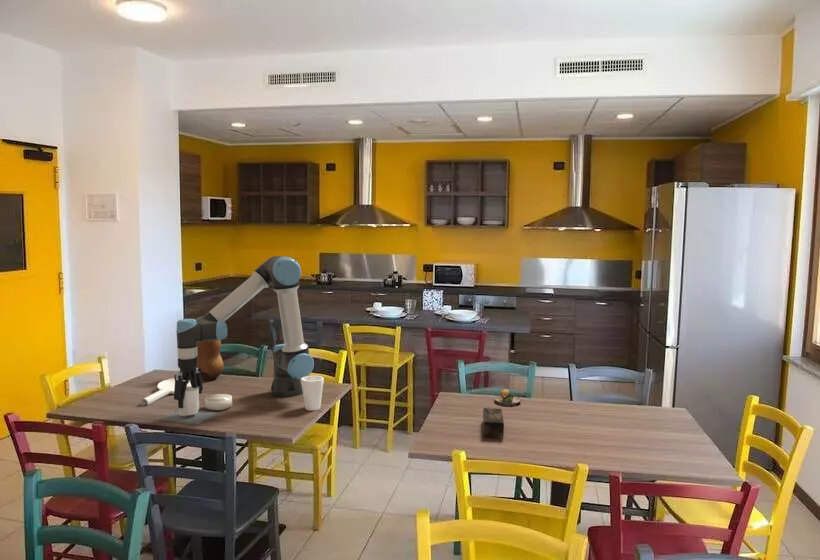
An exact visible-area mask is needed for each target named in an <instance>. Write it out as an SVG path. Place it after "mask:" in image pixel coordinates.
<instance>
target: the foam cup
mask: <svg viewBox="0 0 820 560" xmlns="http://www.w3.org/2000/svg"><path fill="white" fill-rule="evenodd" d="M324 380H325V379H324V377H323V376H321V375H308V376H305V377H303V378H301V385H302V390H303V393H302V396H303V402H304V409H305V410H306V409H307V411H317V410H320V409H321V404H322V397H323V389H324V388H323V387H324V382H325V381H324Z"/></svg>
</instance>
